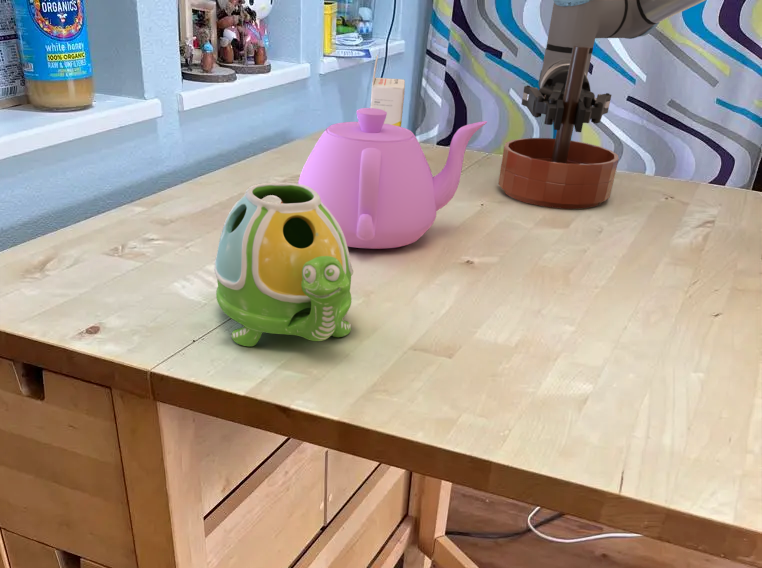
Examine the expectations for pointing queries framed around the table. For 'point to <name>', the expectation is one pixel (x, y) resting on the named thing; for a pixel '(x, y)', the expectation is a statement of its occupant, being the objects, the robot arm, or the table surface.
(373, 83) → the ink cartridge box
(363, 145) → the teapot
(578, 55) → the peg on round base
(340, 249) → the turtle holder
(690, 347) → the table surface
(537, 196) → the bowl
